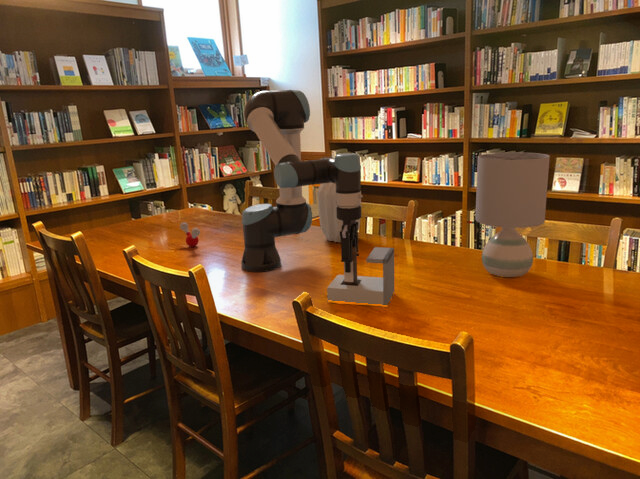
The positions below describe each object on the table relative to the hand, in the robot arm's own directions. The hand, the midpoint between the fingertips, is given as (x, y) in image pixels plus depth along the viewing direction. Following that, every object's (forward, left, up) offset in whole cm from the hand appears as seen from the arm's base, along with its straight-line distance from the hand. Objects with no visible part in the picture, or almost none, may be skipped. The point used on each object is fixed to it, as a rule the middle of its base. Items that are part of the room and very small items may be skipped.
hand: (350, 278), depth 156 cm
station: (+3, 0, -6) cm, 7 cm away
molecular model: (-85, +44, -6) cm, 96 cm away
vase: (-22, +66, -6) cm, 70 cm away
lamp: (+47, +31, -6) cm, 57 cm away
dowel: (0, 0, -5) cm, 5 cm away
